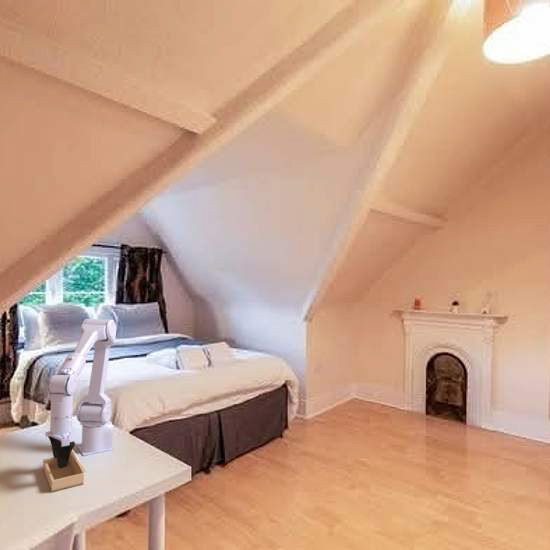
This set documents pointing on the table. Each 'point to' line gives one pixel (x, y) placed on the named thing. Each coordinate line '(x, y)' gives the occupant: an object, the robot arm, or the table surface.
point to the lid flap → (77, 460)
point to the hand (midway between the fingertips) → (60, 462)
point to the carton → (62, 474)
